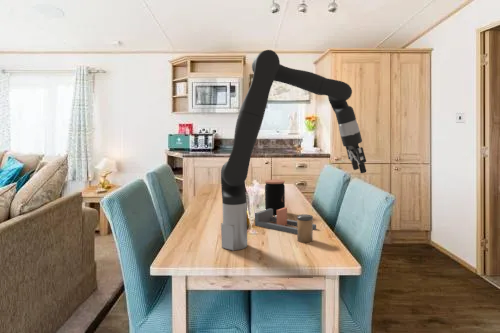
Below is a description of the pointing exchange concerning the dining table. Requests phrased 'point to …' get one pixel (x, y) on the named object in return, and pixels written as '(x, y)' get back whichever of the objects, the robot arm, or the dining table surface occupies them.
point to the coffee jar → (274, 195)
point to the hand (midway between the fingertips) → (359, 171)
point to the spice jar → (305, 228)
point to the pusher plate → (281, 216)
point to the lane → (267, 216)
